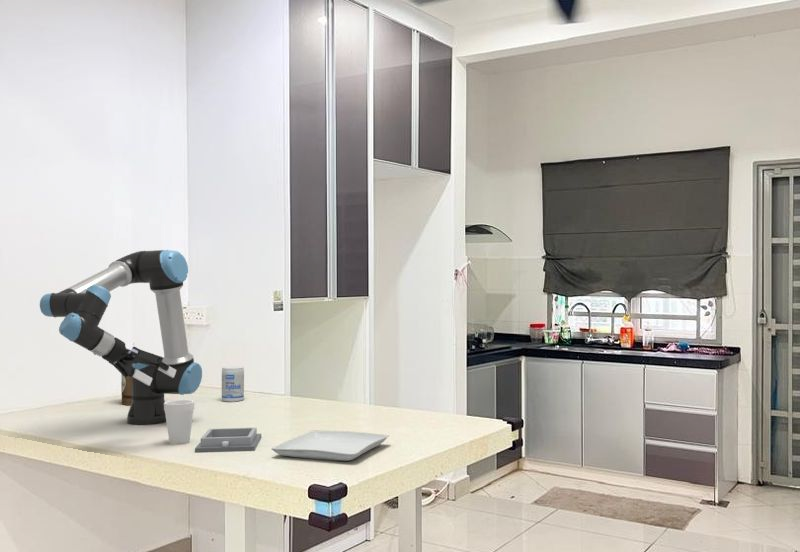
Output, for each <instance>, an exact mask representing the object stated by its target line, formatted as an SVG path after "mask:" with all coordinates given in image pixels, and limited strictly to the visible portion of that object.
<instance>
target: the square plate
mask: <svg viewBox="0 0 800 552" xmlns="http://www.w3.org/2000/svg"><path fill="white" fill-rule="evenodd" d="M389 437H390V434H389V435H388V434H381V433H380V434H379V433H371V432H362V431H348V430H347V431H346V430H345V431H344V430H311V431H308V432H305V433H303V434H299V435H298V436H296V437H293V438H291V439H289V440H287V441H284V442H282V443H280V444H277V445H276V446H274V447H272V448H271V451H273V452H274V453H276V454H277V455H280V456H282V457H291V458H292V457H293V458H301V459H310V460H311V459H313V460H324V461H325V460H326V461H337V462H338V461H339V462H340V461H342V462H343V461H345V462H347V461H349V462H350V461H352V460H355V459H356V458H358V457H360V456H361V455H363V454H364V453H367V452H368V451H370V450H372V449H374V448H376V447H378V446H380V445H381V444H383V443H384V442H385V441H386V440H387V438H389Z"/></svg>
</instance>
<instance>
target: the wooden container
mask: <svg viewBox="0 0 800 552" xmlns="http://www.w3.org/2000/svg"><path fill="white" fill-rule="evenodd" d="M131 365H133V363H131ZM120 384H121V405H123V406H131V403H132V379H131V377H130V376H127V377H125V376H123V375H122V374H121V383H120Z"/></svg>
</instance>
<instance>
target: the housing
mask: <svg viewBox="0 0 800 552" xmlns="http://www.w3.org/2000/svg"><path fill="white" fill-rule="evenodd" d="M257 430H258V429H257V427H256V426H255V427H229V428H227V427H225V428H222V427H221V428H209V429H208V430H207V431H206V432H205V433H204V434H203V435H202V436H201V437H200V442H199V443H198V444H197V445H196V447H195V448H194V453H214V452H215V453H218V452H250V451H252V452H254V451H256V448H257V446H258V444H260V441H261V439H262V433H257Z"/></svg>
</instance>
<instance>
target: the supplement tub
mask: <svg viewBox="0 0 800 552" xmlns="http://www.w3.org/2000/svg"><path fill="white" fill-rule="evenodd" d="M244 397H245V369H244V366H243V365H242V366H241V365H230V366H229V365H227V366H222V368H221V401H223V402H229V403H234V402H242V401H243V400H244V399H245V398H244Z"/></svg>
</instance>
